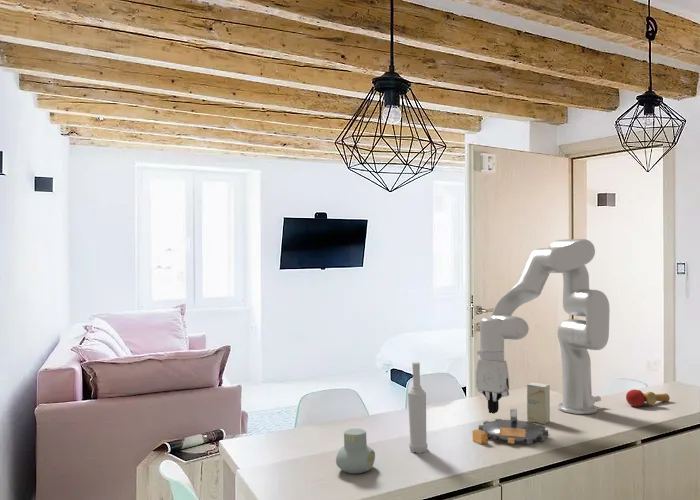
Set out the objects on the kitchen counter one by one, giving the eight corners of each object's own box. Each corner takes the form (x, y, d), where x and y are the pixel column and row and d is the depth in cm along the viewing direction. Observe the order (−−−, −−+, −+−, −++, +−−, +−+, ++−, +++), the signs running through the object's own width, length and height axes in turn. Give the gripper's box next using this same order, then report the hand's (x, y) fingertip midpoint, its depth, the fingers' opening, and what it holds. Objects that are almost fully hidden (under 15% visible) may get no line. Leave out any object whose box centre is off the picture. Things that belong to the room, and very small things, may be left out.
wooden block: (513, 430, 174) (513, 420, 174) (530, 436, 168) (529, 426, 168) (469, 439, 166) (469, 429, 166) (484, 446, 160) (484, 435, 160)
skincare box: (526, 420, 183) (525, 384, 183) (532, 417, 186) (531, 381, 186) (545, 424, 179) (544, 386, 179) (551, 421, 182) (549, 384, 182)
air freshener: (349, 460, 152) (348, 424, 152) (377, 464, 149) (376, 426, 149) (333, 475, 142) (332, 436, 142) (363, 479, 139) (362, 439, 139)
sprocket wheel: (482, 420, 182) (481, 404, 182) (548, 424, 175) (547, 408, 176) (475, 440, 163) (474, 422, 163) (548, 446, 156) (548, 427, 156)
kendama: (654, 402, 206) (618, 401, 200) (658, 386, 205) (622, 384, 199) (672, 411, 199) (636, 410, 192) (676, 394, 198) (640, 393, 192)
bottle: (427, 447, 161) (424, 361, 161) (428, 453, 156) (425, 364, 156) (409, 446, 161) (406, 361, 162) (409, 453, 156) (406, 364, 156)
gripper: (466, 355, 182) (467, 410, 182) (508, 360, 172) (509, 419, 172) (477, 352, 188) (478, 406, 187) (519, 356, 178) (520, 414, 177)
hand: (493, 412), depth 180 cm, fingers closed
